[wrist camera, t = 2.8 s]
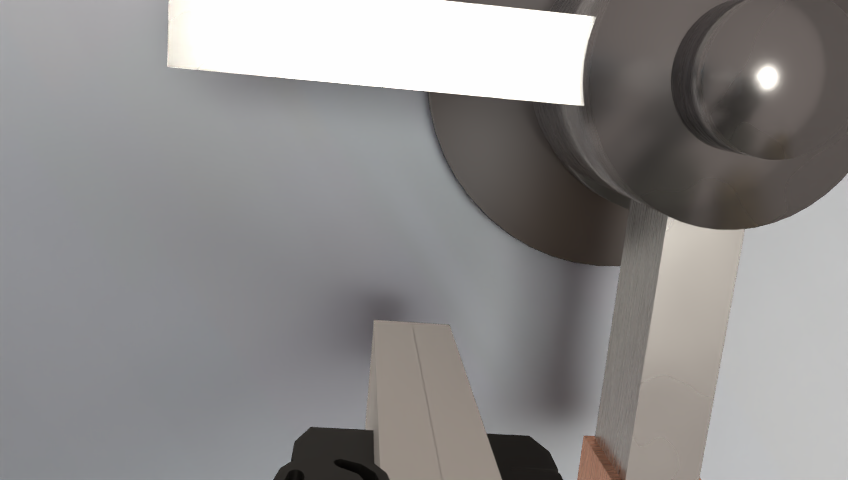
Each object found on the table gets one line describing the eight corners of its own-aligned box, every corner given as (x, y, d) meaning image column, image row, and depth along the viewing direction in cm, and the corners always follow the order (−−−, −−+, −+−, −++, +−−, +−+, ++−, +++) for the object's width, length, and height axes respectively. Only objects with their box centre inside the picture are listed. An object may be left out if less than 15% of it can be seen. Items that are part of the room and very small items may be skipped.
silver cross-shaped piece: (204, 438, 18) (130, 622, 12) (237, -466, 14) (153, -857, 8) (914, 468, 20) (1156, 641, 14) (1108, -321, 16) (1554, -552, 10)
